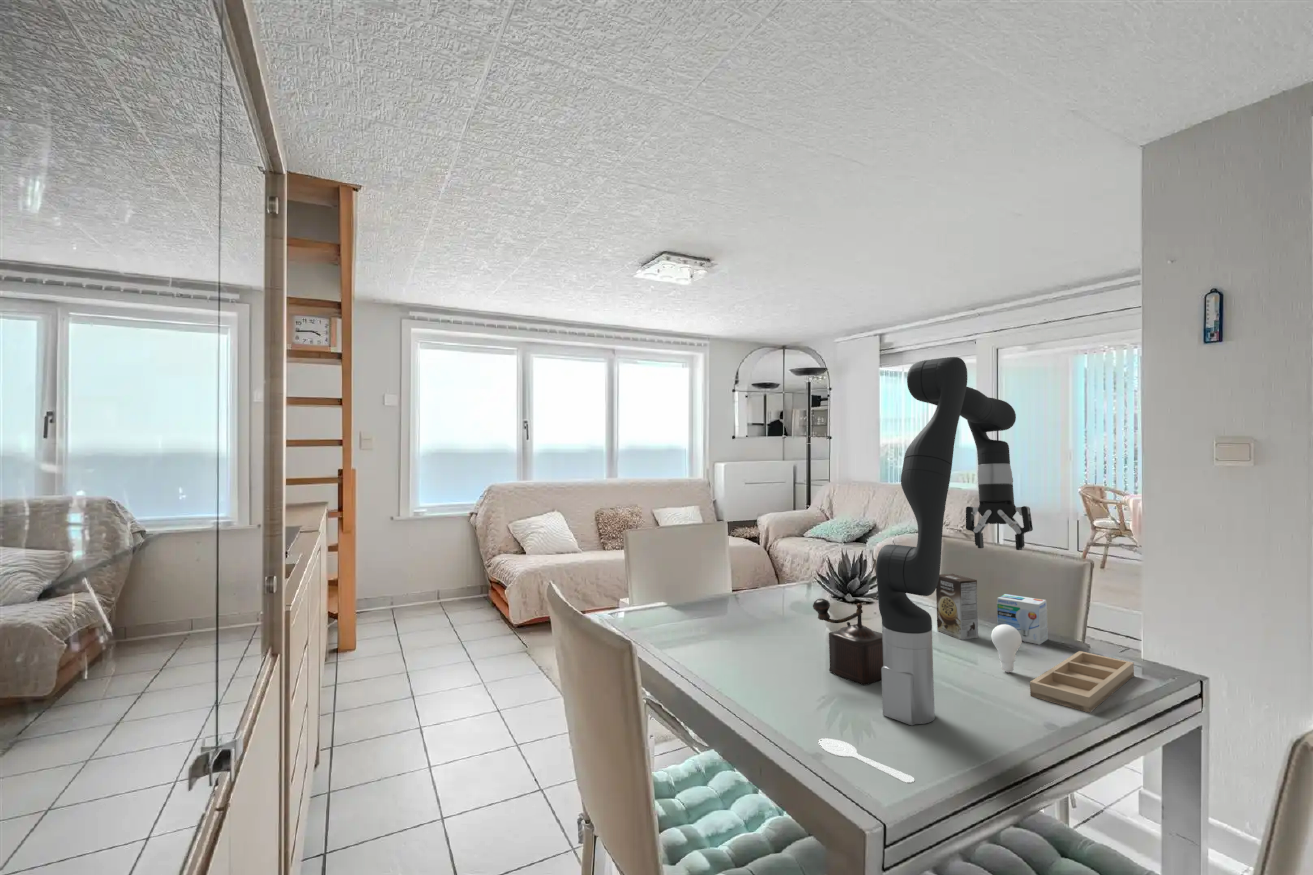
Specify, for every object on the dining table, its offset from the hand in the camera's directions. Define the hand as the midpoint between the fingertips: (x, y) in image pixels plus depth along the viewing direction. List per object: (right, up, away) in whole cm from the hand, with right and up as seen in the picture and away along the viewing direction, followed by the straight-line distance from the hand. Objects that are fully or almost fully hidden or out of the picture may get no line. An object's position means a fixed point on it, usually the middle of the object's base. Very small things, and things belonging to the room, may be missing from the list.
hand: (999, 549), depth 145 cm
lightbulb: (-2, -28, -7) cm, 29 cm away
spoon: (-49, -28, -44) cm, 72 cm away
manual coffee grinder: (-38, -29, -7) cm, 48 cm away
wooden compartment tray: (+10, -27, -15) cm, 33 cm away
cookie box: (+1, -28, +22) cm, 36 cm away
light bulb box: (+17, -28, +18) cm, 37 cm away
